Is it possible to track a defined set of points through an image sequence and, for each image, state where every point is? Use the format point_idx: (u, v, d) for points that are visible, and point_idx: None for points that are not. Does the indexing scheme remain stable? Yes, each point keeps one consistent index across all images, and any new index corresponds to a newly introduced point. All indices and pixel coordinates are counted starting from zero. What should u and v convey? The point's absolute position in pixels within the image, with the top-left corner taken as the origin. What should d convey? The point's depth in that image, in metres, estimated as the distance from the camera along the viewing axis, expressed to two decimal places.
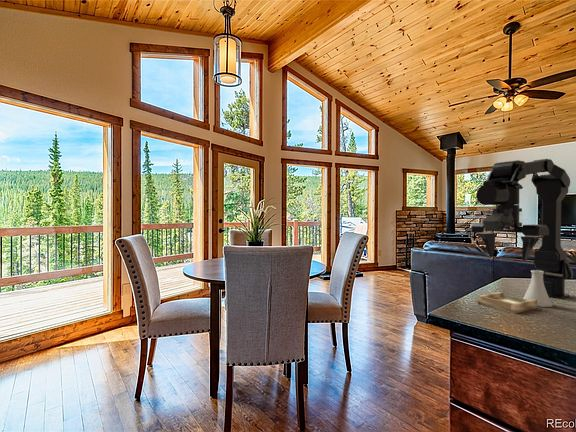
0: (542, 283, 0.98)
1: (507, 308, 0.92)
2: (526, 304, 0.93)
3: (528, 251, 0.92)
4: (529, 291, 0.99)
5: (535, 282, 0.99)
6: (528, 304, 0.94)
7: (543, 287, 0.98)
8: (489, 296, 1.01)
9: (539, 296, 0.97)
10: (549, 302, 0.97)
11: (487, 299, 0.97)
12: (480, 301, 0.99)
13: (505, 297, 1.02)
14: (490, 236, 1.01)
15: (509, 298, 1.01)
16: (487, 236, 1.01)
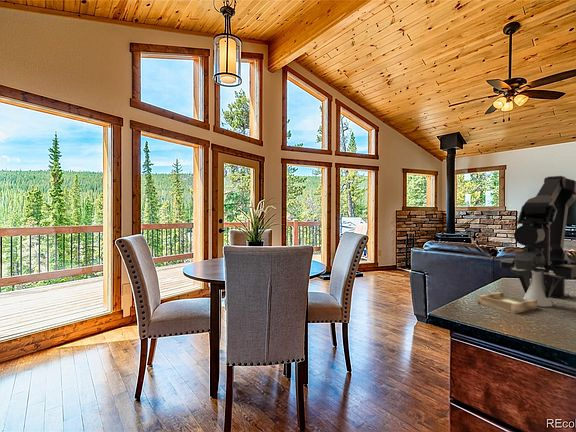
0: (542, 283, 0.98)
1: (507, 308, 0.92)
2: (526, 304, 0.93)
3: (551, 289, 0.96)
4: (529, 291, 0.99)
5: (535, 282, 0.99)
6: (528, 304, 0.94)
7: (543, 287, 0.98)
8: (489, 296, 1.01)
9: (539, 295, 0.97)
10: (549, 302, 0.97)
11: (487, 299, 0.97)
12: (480, 301, 0.99)
13: (505, 297, 1.02)
14: (526, 273, 1.02)
15: (509, 298, 1.01)
16: (523, 273, 1.02)
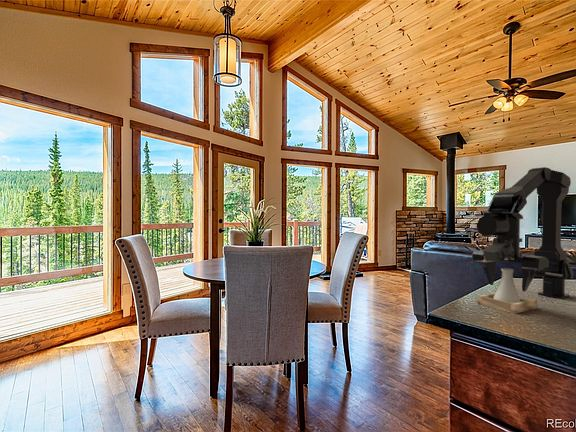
0: (512, 281, 0.96)
1: (507, 308, 0.92)
2: (526, 304, 0.93)
3: (528, 282, 0.93)
4: (499, 290, 0.98)
5: (505, 281, 0.97)
6: (528, 304, 0.94)
7: (513, 285, 0.96)
8: (489, 296, 1.01)
9: (509, 294, 0.95)
10: (519, 301, 0.95)
11: (487, 299, 0.97)
12: (480, 301, 0.99)
13: None
14: (491, 264, 1.02)
15: None
16: (487, 264, 1.01)
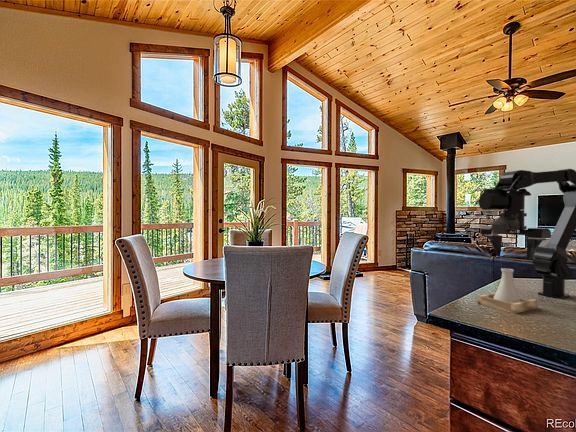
0: (512, 281, 0.96)
1: (507, 308, 0.92)
2: (526, 304, 0.93)
3: (532, 252, 1.02)
4: (499, 290, 0.98)
5: (505, 281, 0.97)
6: (528, 304, 0.94)
7: (513, 285, 0.96)
8: (489, 296, 1.01)
9: (509, 294, 0.95)
10: (519, 301, 0.95)
11: (487, 299, 0.97)
12: (480, 301, 0.99)
13: None
14: (498, 238, 1.12)
15: None
16: (495, 238, 1.11)
